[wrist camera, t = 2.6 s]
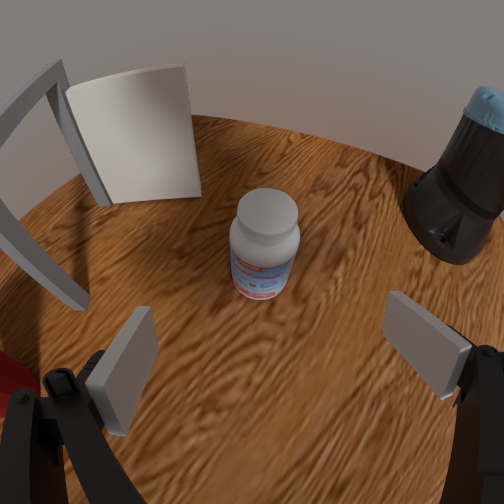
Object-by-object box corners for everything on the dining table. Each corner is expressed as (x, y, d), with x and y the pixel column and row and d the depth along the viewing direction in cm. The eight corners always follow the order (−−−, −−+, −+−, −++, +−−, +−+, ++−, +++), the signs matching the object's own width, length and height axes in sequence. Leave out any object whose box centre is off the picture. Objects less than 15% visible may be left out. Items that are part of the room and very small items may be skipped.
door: (113, 203, 35) (65, 92, 20) (117, 190, 36) (74, 82, 21) (201, 196, 36) (182, 66, 20) (202, 183, 37) (186, 58, 22)
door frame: (114, 194, 37) (61, 58, 18) (87, 310, 28) (-45, 177, 9) (102, 196, 36) (47, 64, 18) (73, 310, 27) (-56, 182, 9)
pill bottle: (222, 289, 30) (212, 226, 20) (245, 244, 33) (246, 172, 23) (276, 310, 29) (293, 254, 19) (295, 262, 32) (315, 194, 22)
